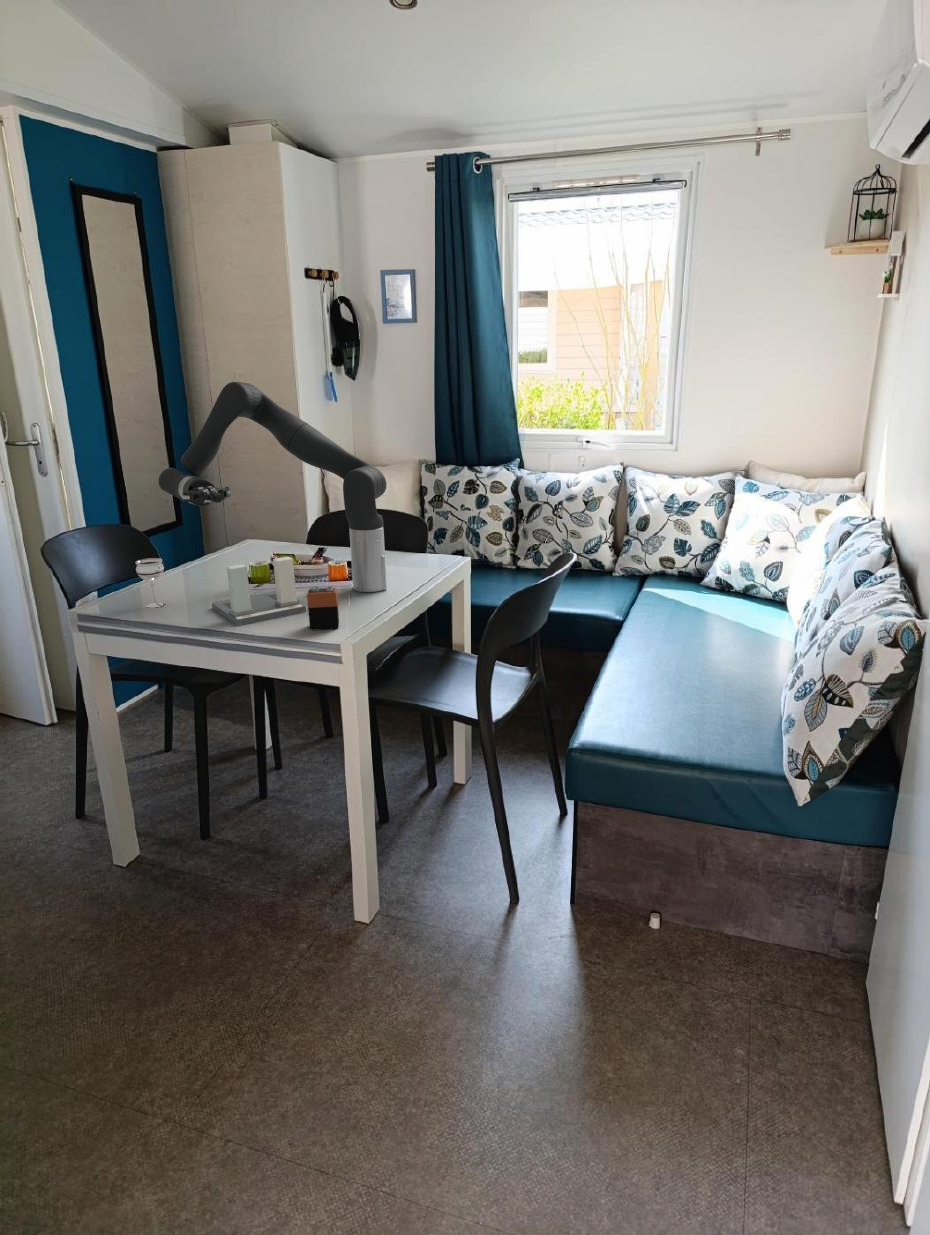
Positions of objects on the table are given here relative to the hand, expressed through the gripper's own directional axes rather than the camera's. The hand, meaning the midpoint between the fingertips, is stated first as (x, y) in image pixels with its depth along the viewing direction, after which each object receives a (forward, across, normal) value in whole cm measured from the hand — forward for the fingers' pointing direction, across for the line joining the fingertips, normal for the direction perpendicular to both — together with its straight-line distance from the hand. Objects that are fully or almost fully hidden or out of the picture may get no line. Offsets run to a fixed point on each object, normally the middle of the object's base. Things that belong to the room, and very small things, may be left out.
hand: (218, 498), depth 207 cm
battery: (+32, +11, +29) cm, 45 cm away
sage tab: (+14, -2, +26) cm, 30 cm away
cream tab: (+14, +10, +27) cm, 32 cm away
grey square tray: (+10, +4, +28) cm, 30 cm away
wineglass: (-11, -17, +28) cm, 34 cm away
